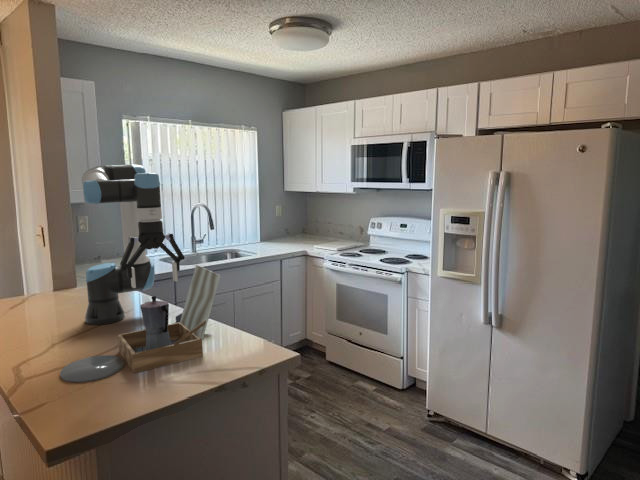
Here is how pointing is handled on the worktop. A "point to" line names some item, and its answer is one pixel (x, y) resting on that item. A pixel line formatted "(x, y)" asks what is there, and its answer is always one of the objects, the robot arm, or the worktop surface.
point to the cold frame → (176, 328)
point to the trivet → (91, 368)
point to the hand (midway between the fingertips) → (155, 284)
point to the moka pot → (156, 323)
